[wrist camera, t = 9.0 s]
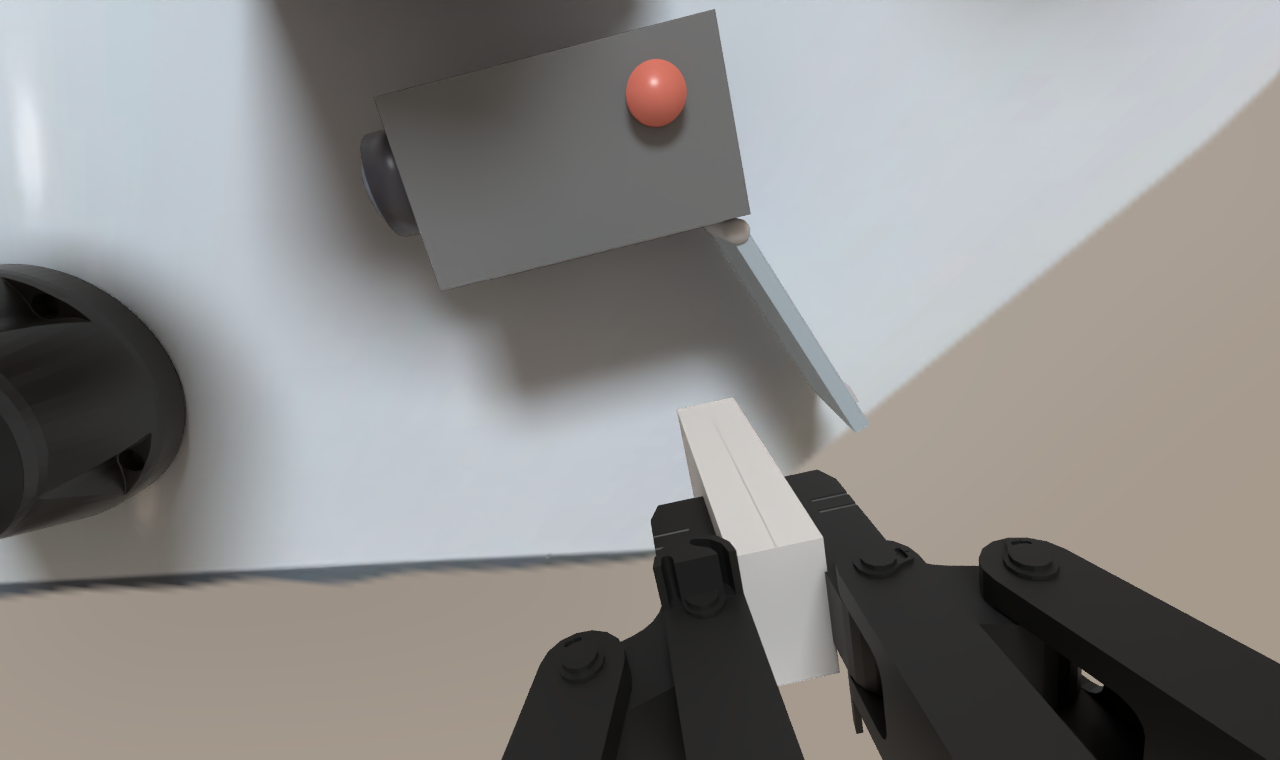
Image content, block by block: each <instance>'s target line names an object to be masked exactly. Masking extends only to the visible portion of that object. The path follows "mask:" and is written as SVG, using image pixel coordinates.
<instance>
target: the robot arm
mask: <svg viewBox="0 0 1280 760" xmlns="http://www.w3.org/2000/svg"><path fill="white" fill-rule="evenodd" d="M677 413H678V418H679V423H680V428H681V433H682V438H683V444H684V449H685V454H686V459H687V464H688V469H689V474H690V479H691V484H692V489H693V494H694V498H692V499H687V500H682V501H678V502H673V503H668V504H664V505H659V506H658V507H657V509H656V511H655V513H654V515H653V517H652V519H651V526H652V532H653V539H654V545H655V551H656V557H655V558H654V564H653V571H654V574H655V579H656V583H657V588H658V592H659V596H660V600H661V605H662V607H661V609H660V612H659V614H658V615H657V616H656V618H655V619H654V621H653V622H652V623H651V624H650V625H648V626H647V627H646V628H645V629H644V630H642V631H640V632H639V633H637V634H635V635H634V636H632V637H630V638H628V639H626V640H624V641H622V642H620V641H619V639H618V638H616V637H615V636H613V635H611V634H609V633H608V632H602V631H593V630H591V631H587V632H581V633H576V634H574V635H572V636H570V637H568V638H565V639H564V640H562V641H560V642H559V643H558V644H557V645H555V646H554V647H553V648H552V649H551V650H549V651H548V653H547V655H546V656H545V658H544V659H543V661H542V662H541V664H540V666H539V668H538V671H537V674H536V676H535V679H534V681H533V684H532V686H531V688H530V691H529V693H528V696H527V698H526V701H525V704H524V706H523V708H522V710H521V713H520V715H519V718H518V721H517V723H516V726H515V728H514V730H513V733H512V735H511V738H510V740H509V743H508V745H507V748H506V750H505V752H504V755H503V758H502V760H804V757H803V754H802V752H801V749H800V746H799V744H798V741H797V738H796V735H795V733H794V730H793V727H792V725H791V722H790V719H789V716H788V713H787V710H786V708H785V705H784V703H783V699H782V697H781V694H780V692H779V688H778V686H780V685H784V684H789V683H794V682H799V681H803V680H808V679H812V678H817V677H821V676H826V675H831V674H836V673H839V672H840V671H839V663H838V655H837V650H838V652H839V654H840V656H841V658H842V659H843V662H844V663H845V665H846V667H847V669H848V678H849V686H850V694H851V703H852V712H853V720H854V725H855V729H856V733H857V734H858V733H863V727H862V719H863V721H864V723H865V725H866V727H867V729H868V731H869V733H870V735H871V737H872V739H873V741H874V743H875V745H876V747H877V749H878V751H879V753H880V755H881V757H882V759H883V760H1280V664H1279V663H1277V662H1275V661H1274V660H1272V659H1270V658H1268V657H1266V656H1264V655H1262V654H1261V653H1259V652H1257V651H1255V650H1253V649H1251V648H1249V647H1247V646H1246V645H1244V644H1242V643H1240V642H1238V641H1236V640H1234V639H1232V638H1231V637H1229V636H1227V635H1225V634H1223V633H1221V632H1219V631H1218V630H1216V629H1214V628H1212V627H1210V626H1208V625H1206V624H1205V623H1203V622H1201V621H1199V620H1197V619H1195V618H1193V617H1191V616H1189V615H1188V614H1186V613H1184V612H1182V611H1180V610H1178V609H1176V608H1175V607H1173V606H1171V605H1169V604H1167V603H1165V602H1163V601H1162V600H1160V599H1158V598H1156V597H1154V596H1152V595H1150V594H1148V593H1147V592H1145V591H1143V590H1141V589H1139V588H1137V587H1135V586H1134V585H1132V584H1130V583H1128V582H1126V581H1124V580H1122V579H1120V578H1119V577H1117V576H1115V575H1113V574H1111V573H1109V572H1107V571H1106V570H1103V569H1102V568H1100V567H1098V566H1096V565H1094V564H1092V563H1091V562H1089V561H1087V560H1085V559H1083V558H1081V557H1079V556H1077V555H1075V554H1073V553H1072V552H1070V551H1068V550H1066V549H1064V548H1062V547H1059V546H1057V545H1054V544H1052V543H1049V542H1047V541H1042V540H1036V539H1031V538H1005V539H1001V540H998V541H993V542H992V543H990V544H989V545H987V546H986V547H984V548H983V549H982V551H981V554H980V556H979V566H944V565H932V564H927V563H925V561H924V560H923V559H922V558H921V557H920V556H919V555H918V554H917V553H916V552H914V551H913V550H912V549H910V548H909V547H907V546H905V545H902V544H900V543H897V542H894V541H888V540H885V538H884V537H883V536H882V535H881V533H880V532H879V531H878V530H877V529H876V527H875V526H874V525H873V524H872V523H871V521H870V520H869V519H868V517H867V516H866V515H865V514H864V513H863V511H862V510H861V509H860V508H859V507H858V505H856V504H855V502H854V501H853V499H852V498H851V497H850V495H848V494H847V492H846V491H845V489H844V488H843V487H842V486H841V484H840V483H839V482H838V481H837V480H836V479H835V478H833V477H831V476H829V475H827V474H825V473H823V472H821V471H819V470H813V471H809V472H804V473H799V474H795V475H790V476H786V477H784V476H783V474H782V473H781V471H780V470H779V468H778V467H777V465H776V463H775V462H774V460H773V459H772V457H771V456H770V454H769V453H768V451H767V449H766V448H765V446H764V445H763V443H762V442H761V440H760V439H759V437H758V435H757V434H756V432H755V431H754V429H753V428H752V426H751V425H750V423H749V421H748V420H747V418H746V417H745V415H744V414H743V412H742V411H741V409H740V407H739V406H738V404H737V403H736V401H735V400H734V398H733V397H732V398H727V399H722V400H718V401H713V402H708V403H704V404H699V405H694V406H690V407H685V408H681V409H677ZM184 424H185V407H184V399H183V394H182V389H181V386H180V382H179V379H178V376H177V374H176V371H175V369H174V367H173V365H172V362H171V361H170V359H169V357H168V355H167V353H166V352H165V350H164V349H163V347H162V345H161V344H160V343H159V341H158V340H157V338H156V337H155V336H154V335H153V333H152V332H151V331H150V330H149V329H148V327H147V326H146V325H145V324H144V323H143V322H142V321H141V320H140V319H139V318H138V317H137V316H136V315H135V314H134V313H133V312H132V311H130V310H129V309H128V308H127V307H126V306H124V305H123V304H122V303H120V302H119V301H118V300H116V299H115V298H114V297H112V296H111V295H109V294H107V293H106V292H104V291H103V290H101V289H99V288H97V287H96V286H94V285H92V284H90V283H88V282H86V281H84V280H81V279H79V278H77V277H74V276H72V275H69V274H66V273H63V272H60V271H56V270H53V269H49V268H44V267H39V266H33V265H23V264H1V265H0V539H2V538H6V537H10V536H14V535H18V534H22V533H26V532H30V531H34V530H38V529H42V528H46V527H50V526H54V525H58V524H62V523H66V522H70V521H74V520H78V519H82V518H86V517H89V516H93V515H96V514H98V513H101V512H104V511H106V510H108V509H110V508H113V507H115V506H117V505H119V504H120V503H122V502H124V501H125V500H127V499H128V498H130V497H132V496H133V495H135V494H136V493H138V492H139V491H141V490H143V489H144V488H146V487H147V486H149V485H150V484H152V483H153V482H154V481H155V480H156V479H158V478H159V477H160V476H161V475H162V474H163V473H164V471H165V470H166V469H167V468H168V467H169V465H170V464H171V462H172V461H173V459H174V457H175V455H176V453H177V451H178V449H179V446H180V443H181V440H182V436H183V432H184ZM1082 669H1083V670H1084V671H1085V672H1087V673H1088V674H1090V675H1091V676H1093V677H1094V678H1095V679H1097V680H1098V681H1100V682H1101V683H1102V684H1104V686H1103V687H1102V686H1099V685H1097V684H1095V683H1093V682H1091V681H1090V680H1089V679H1087V678H1086V677H1084V676H1083V675H1082V674H1081V670H1082Z"/></svg>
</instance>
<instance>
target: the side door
mask: <svg viewBox="0 0 1280 760" xmlns="http://www.w3.org/2000/svg"><path fill="white" fill-rule="evenodd" d="M703 228H704V229H705V231H707V232H708V233H711V235H712V237H713V238H714V240H715V241H716V243H717V244H718V246H719V247H720V249H721V250H722V252H723V253H724V255H725V257H726V258H727V260H728V261H729V263H730V264H731V266H732V267H733V269H734V270H735V272H736V273H737V275H738V277H739V278H740V280H741V281H742V283H743V284H744V286H745V287H746V289H747V290H748V292H749V293H750V295H751V297H752V298H753V300H754V301H755V303H756V304H757V306H758V307H759V309H760V310H761V312H762V313H763V315H764V316H765V318H766V320H767V321H768V323H769V324H770V326H771V327H772V329H773V330H774V332H775V333H776V335H777V336H778V338H779V340H780V341H781V343H782V344H783V346H784V347H785V349H786V350H787V352H788V353H789V355H790V356H791V358H792V360H793V361H794V363H795V364H796V366H797V367H798V369H799V370H800V372H801V373H802V375H803V376H804V378H805V380H806V381H807V383H808V384H809V386H810V387H811V389H812V390H813V391H814V392H815V393H816V394H817V395H818V396H819V397H820V398H821V399H822V400H823V401H824V402H825V403H826V404H827V405H828V406H829V407H830V408H831V409H832V410H833V411H834V412H835V413H836V414H837V415H838V416H839V417H840V418H841V419H842V420H843V421H844V422H845V423H846V424H847V425H848V426H849V427H850V428H851V429H852V430H853V431H854V432H855V433H857V432H859V431H861V430H862V429H864V428H865V427H867V426H869V425H870V424H869V423H868V421H867V419H866V418H865V416H864V415H863V413H862V411H861V410H860V408H859V407H858V405H857V403H856V402H858V399H857V398H856V396H855V394H854V393H853V391H852V390H851V388H850V387H849V386H848V385H847V384H846V383H844V382H843V381H842V380H841V378H840V376H839V375H838V373H837V372H836V370H835V368H834V367H833V365H832V364H831V362H830V361H829V359H828V357H827V356H826V354H825V353H824V351H823V349H822V348H821V346H820V345H819V343H818V341H817V340H816V338H815V337H814V335H813V333H812V332H811V330H810V329H809V327H808V326H807V324H806V322H805V321H804V319H803V318H802V316H801V314H800V313H799V311H798V310H797V308H796V306H795V305H794V303H793V302H792V300H791V298H790V297H789V295H788V294H787V292H786V291H785V289H784V287H783V286H782V284H781V283H780V281H779V279H778V278H777V276H776V275H775V273H774V271H773V270H772V268H771V267H770V265H769V264H768V262H767V260H766V259H765V257H764V256H763V254H762V252H761V251H760V249H759V248H758V246H757V244H756V243H755V241H754V240H753V238H752V236H751V235H750V227H749V225H748V223H747V222H746V221H744V220H742V219H738V218H733V219H729V220H725V221H724V222H721V223H717V224H713V225H709V226H705V227H703Z"/></svg>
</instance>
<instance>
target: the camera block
mask: <svg viewBox="0 0 1280 760" xmlns="http://www.w3.org/2000/svg"><path fill="white" fill-rule="evenodd" d="M374 100H375V103H376V106H377V109H378V112H379V115H380V118H381V121H382V123H383V126H384V129H385V130H381V131H377V132H373V133H370V134H366V135H364V136H363V138H362V141H361V159H362V161H361V173H362V178H363V182H364V185H365V188H366V191H367V194H368V196H369V198H370V200H371V202H372V204H373V206H374V207H375V209H376V210H377V212H378V213H379V214H380V216H381V217H382V218H384V219H385V220H386V222H387V223H388V225H389V226H390V227H391V228H392V229H393V230H394V231H395V232H396V233H397V234H398V235H400V236H403V237H406V236H410V235H414V234H418V233H420V234H421V237H422V240H423V242H424V245H425V248H426V251H427V254H428V257H429V260H430V263H431V266H432V269H433V271H434V274H435V277H436V280H437V283H438V286H439V289H440V291H443V290H447V289H451V288H455V287H459V286H463V285H467V284H471V283H475V282H479V281H483V280H487V279H490V280H491V279H495V278H499V277H503V276H507V275H511V274H516V273H520V272H524V271H528V270H532V269H536V268H540V267H544V266H548V265H552V264H556V263H560V262H564V261H568V260H572V259H576V258H580V257H584V256H588V255H592V254H596V253H600V252H604V251H608V250H612V249H616V248H620V247H624V246H628V245H632V244H636V243H640V242H644V241H648V240H652V239H656V238H660V237H664V236H668V235H672V234H676V233H680V232H685V231H689V230H693V229H697V228H701V227H705V226H709V225H713V224H717V223H721V222H724V221H725V220H729V219H733V218H737V217H741V216H745V215H749V214H750V208H749V202H748V196H747V191H746V185H745V179H744V173H743V168H742V162H741V156H740V150H739V145H738V139H737V133H736V127H735V122H734V116H733V110H732V104H731V99H730V93H729V87H728V82H727V76H726V70H725V64H724V59H723V53H722V47H721V41H720V36H719V30H718V24H717V18H716V13H715V9H713V10H709V11H705V12H702V13H698V14H694V15H690V16H686V17H682V18H678V19H675V20H671V21H667V22H663V23H659V24H655V25H651V26H647V27H644V28H640V29H636V30H632V31H628V32H624V33H620V34H616V35H613V36H609V37H605V38H601V39H597V40H593V41H589V42H585V43H582V44H578V45H574V46H570V47H566V48H562V49H558V50H555V51H551V52H547V53H543V54H539V55H535V56H531V57H527V58H524V59H520V60H516V61H512V62H508V63H504V64H500V65H496V66H493V67H489V68H485V69H481V70H477V71H473V72H469V73H466V74H462V75H458V76H454V77H450V78H446V79H442V80H438V81H435V82H431V83H427V84H423V85H419V86H415V87H411V88H407V89H404V90H400V91H396V92H392V93H388V94H384V95H380V96H377V97H374Z"/></svg>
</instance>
